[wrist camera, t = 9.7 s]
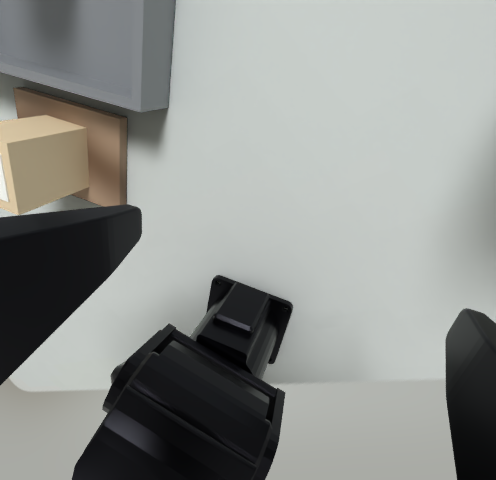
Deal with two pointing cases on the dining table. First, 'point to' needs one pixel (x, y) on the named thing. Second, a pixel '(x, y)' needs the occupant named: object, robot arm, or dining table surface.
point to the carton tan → (41, 162)
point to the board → (88, 142)
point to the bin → (92, 48)
